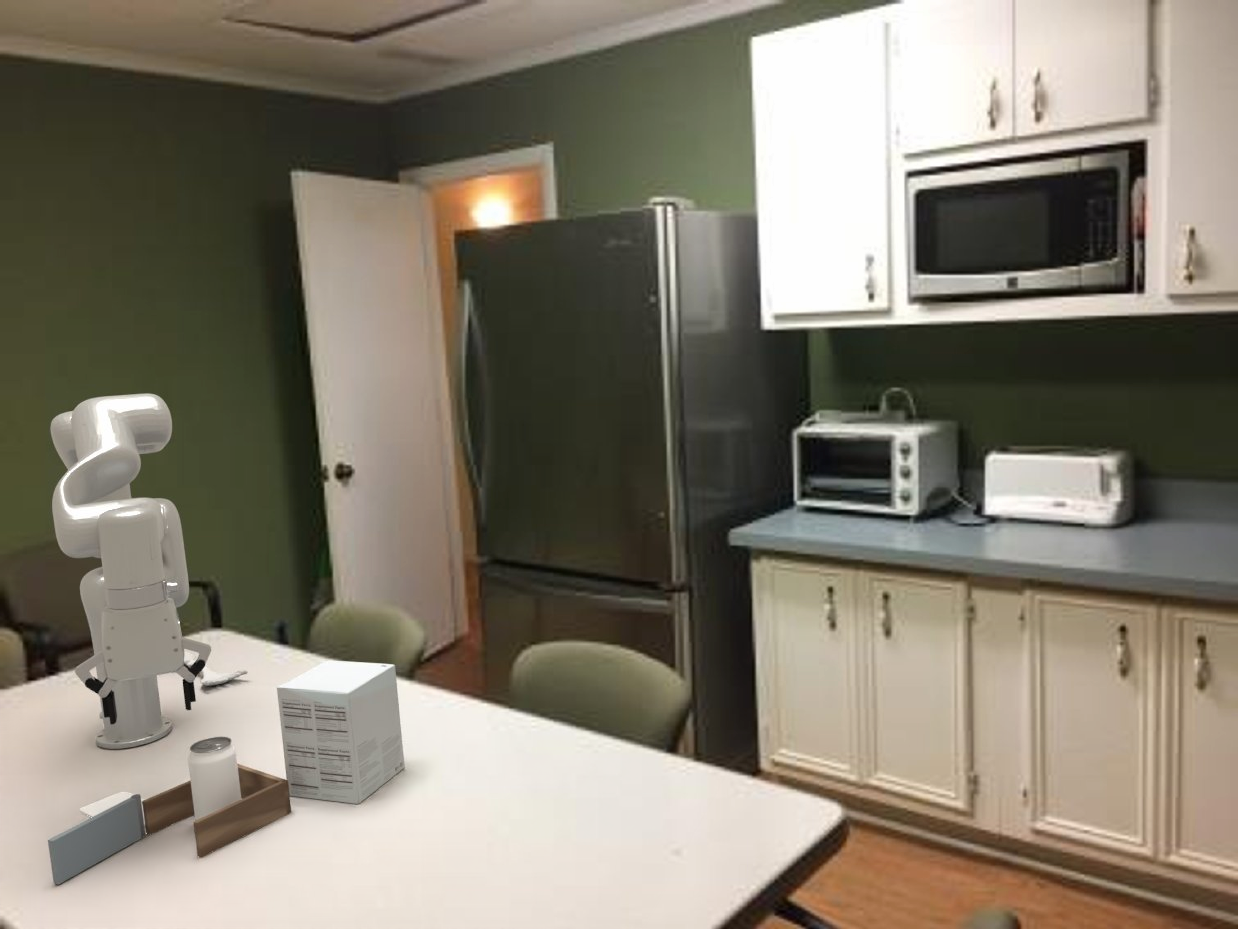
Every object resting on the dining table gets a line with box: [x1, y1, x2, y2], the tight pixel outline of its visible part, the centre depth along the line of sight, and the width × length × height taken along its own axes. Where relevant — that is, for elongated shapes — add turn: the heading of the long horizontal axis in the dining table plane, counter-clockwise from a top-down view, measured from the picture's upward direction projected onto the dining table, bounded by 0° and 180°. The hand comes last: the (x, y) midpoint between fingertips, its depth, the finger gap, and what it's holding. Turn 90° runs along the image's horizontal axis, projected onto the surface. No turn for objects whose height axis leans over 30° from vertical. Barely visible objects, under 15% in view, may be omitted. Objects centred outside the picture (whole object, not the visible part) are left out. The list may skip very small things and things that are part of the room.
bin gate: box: [47, 793, 147, 885], centre depth 140 cm, size 14×1×6 cm, turn 155°
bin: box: [142, 763, 292, 858], centre depth 149 cm, size 14×15×5 cm
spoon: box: [184, 650, 248, 687], centre depth 219 cm, size 9×32×4 cm, turn 47°
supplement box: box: [276, 659, 406, 805], centre depth 160 cm, size 13×13×18 cm
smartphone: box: [79, 791, 145, 826], centre depth 155 cm, size 7×1×15 cm
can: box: [187, 736, 242, 821], centre depth 149 cm, size 6×6×12 cm
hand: (151, 714), depth 144 cm, fingers open, 9 cm apart
